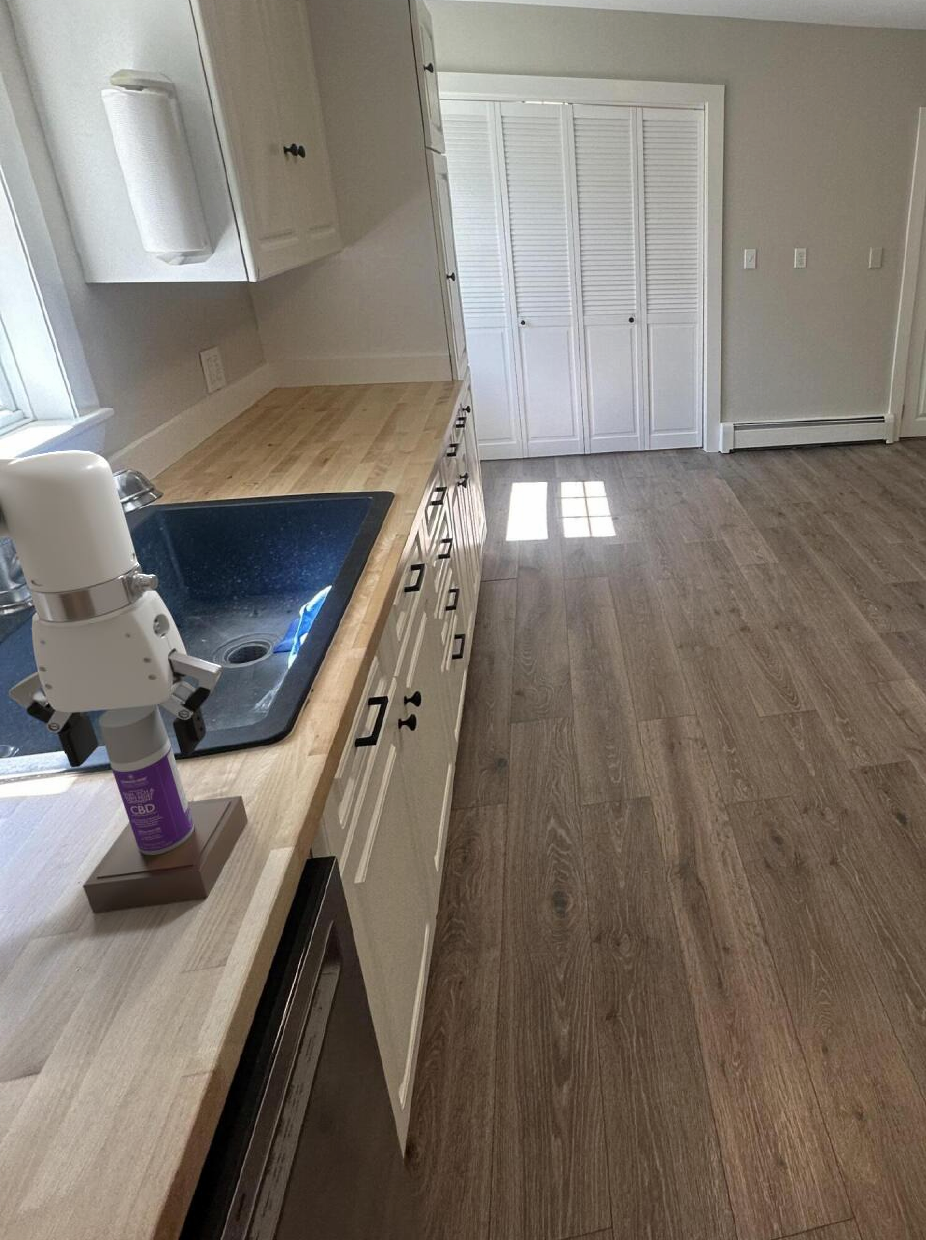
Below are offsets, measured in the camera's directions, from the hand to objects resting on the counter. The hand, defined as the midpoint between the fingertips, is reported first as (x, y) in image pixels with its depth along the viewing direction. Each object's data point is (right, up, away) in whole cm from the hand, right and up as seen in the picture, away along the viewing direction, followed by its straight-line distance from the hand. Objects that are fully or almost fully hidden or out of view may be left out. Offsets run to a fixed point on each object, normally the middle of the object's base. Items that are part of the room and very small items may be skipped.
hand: (140, 751), depth 71 cm
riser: (0, -13, +5) cm, 14 cm away
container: (0, -10, +4) cm, 11 cm away
